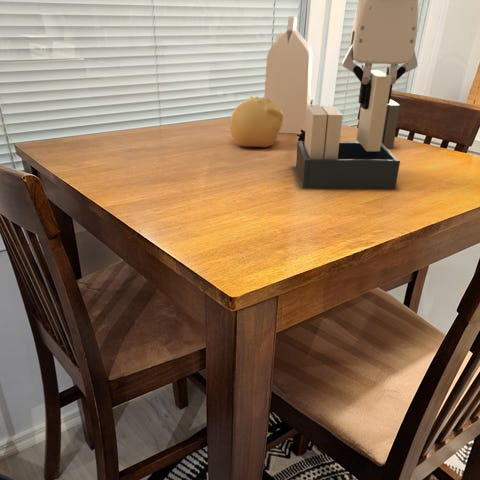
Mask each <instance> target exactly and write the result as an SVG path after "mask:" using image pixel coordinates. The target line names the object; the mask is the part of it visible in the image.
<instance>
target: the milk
mask: <svg viewBox="0 0 480 480" xmlns="http://www.w3.org/2000/svg"><path fill="white" fill-rule="evenodd" d="M297 23H298V16H288V21H287V27H286V31H285V32H283V31H280V32H279V33H278V34H277V35H276V36H275V38H274V39H273V42H274V44H272V46H271V47H270V48H269V49H268V51H267V53H266V66H265V67H266V68H265V79H264V80H265V81H264V96H263V97H265V98H268V99H270V100H271V102H272V103H273V104H274V105H276V107H278V108H279V109H280V110H281V111H282V113H283V119H282V126H281V129H280V130H279V133H278V134H294V135H295V134H296V135H297V134H298V135H300V134H302V133H301V132H300V131H301V130H303V131H306V117H307V106H311V101H312V75H313V48H312V47H311V45H310V44H309V43H308V42H307V41H306V39H305V38H304V37H303V35H302V34H301V33H300V32H299V30H298V29H297Z"/></svg>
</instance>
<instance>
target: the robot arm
mask: <svg viewBox="0 0 480 480" xmlns="http://www.w3.org/2000/svg"><path fill="white" fill-rule="evenodd" d="M418 21H419V0H358V1H357V4H356V9H355V13H354V17H353V23H352V29H351V35H350V41H349V49H348V50H347V52H346V54H345V56H344V58H343V59H342V62H341V66H342V67H343V68H345V69H347V70H348V71H350V72H352V73H353V74H354V75H355V77H356V78H357V79H358V80H359V82H360V87H359V95H358V103H359V104H360V108H361V107H362V108H363V109H368V107H369V100H370V93H371V84H370V74H371V70H372V69H373V68H372V67H373V65H374V64H375V65H376V64H378V65H386V67H385V73H386V74H388V75H390V76H392V78H391V84H390V91H389V97H388V103H387V104H389V103H390V99H391V98H392V91H393V86H394V84H396V82H397V81H399V79H400V78H401V77H402V76H403V75H404V74H406V73H408V72H410V71H412V70H414V69H416V68H417V67H418V65H419V64H418V61H417V56H416V51H415V47H416V40H417V34H418ZM354 61H355V62H356V63H359V64H361V66H359V65H357V64H356V63H354Z"/></svg>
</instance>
